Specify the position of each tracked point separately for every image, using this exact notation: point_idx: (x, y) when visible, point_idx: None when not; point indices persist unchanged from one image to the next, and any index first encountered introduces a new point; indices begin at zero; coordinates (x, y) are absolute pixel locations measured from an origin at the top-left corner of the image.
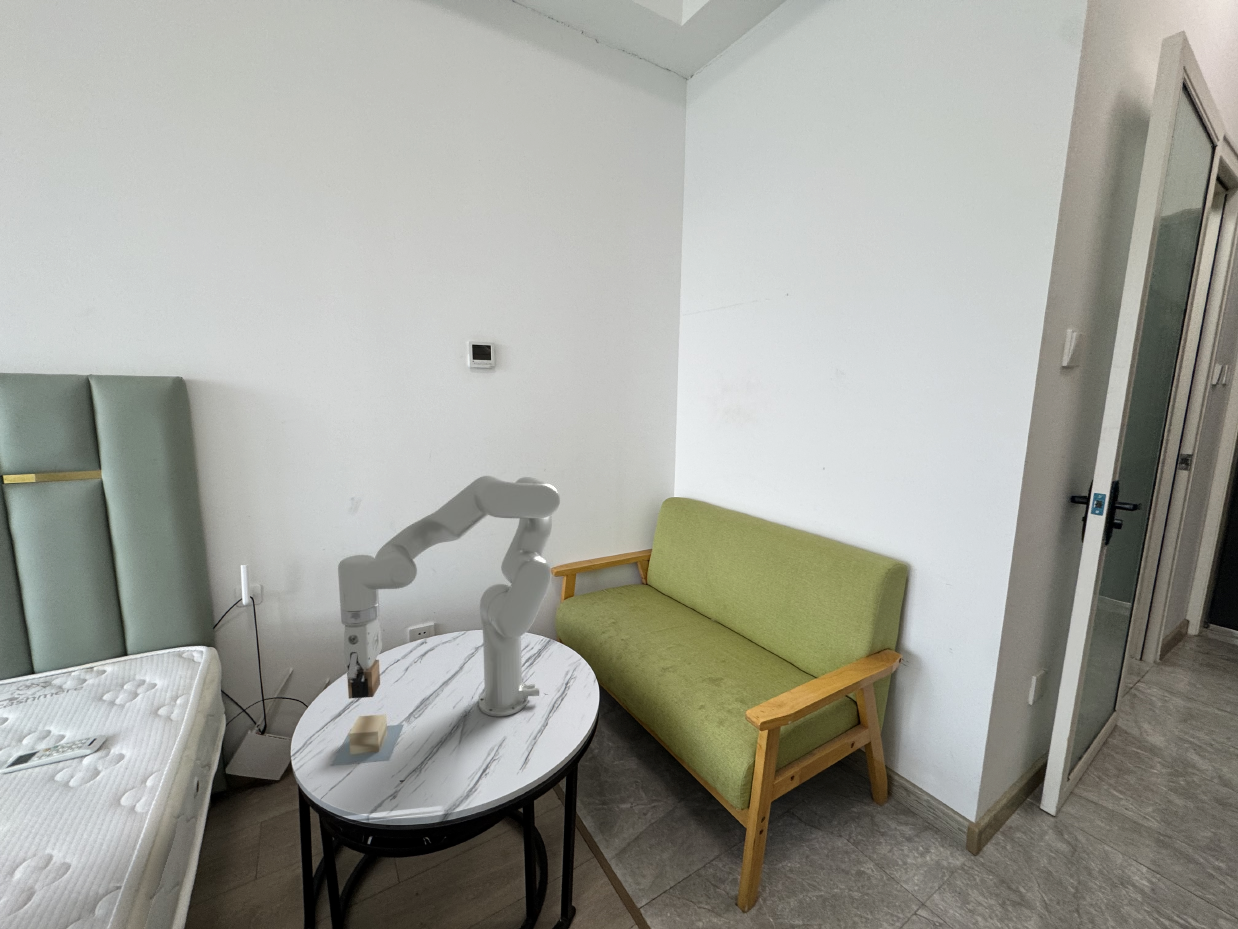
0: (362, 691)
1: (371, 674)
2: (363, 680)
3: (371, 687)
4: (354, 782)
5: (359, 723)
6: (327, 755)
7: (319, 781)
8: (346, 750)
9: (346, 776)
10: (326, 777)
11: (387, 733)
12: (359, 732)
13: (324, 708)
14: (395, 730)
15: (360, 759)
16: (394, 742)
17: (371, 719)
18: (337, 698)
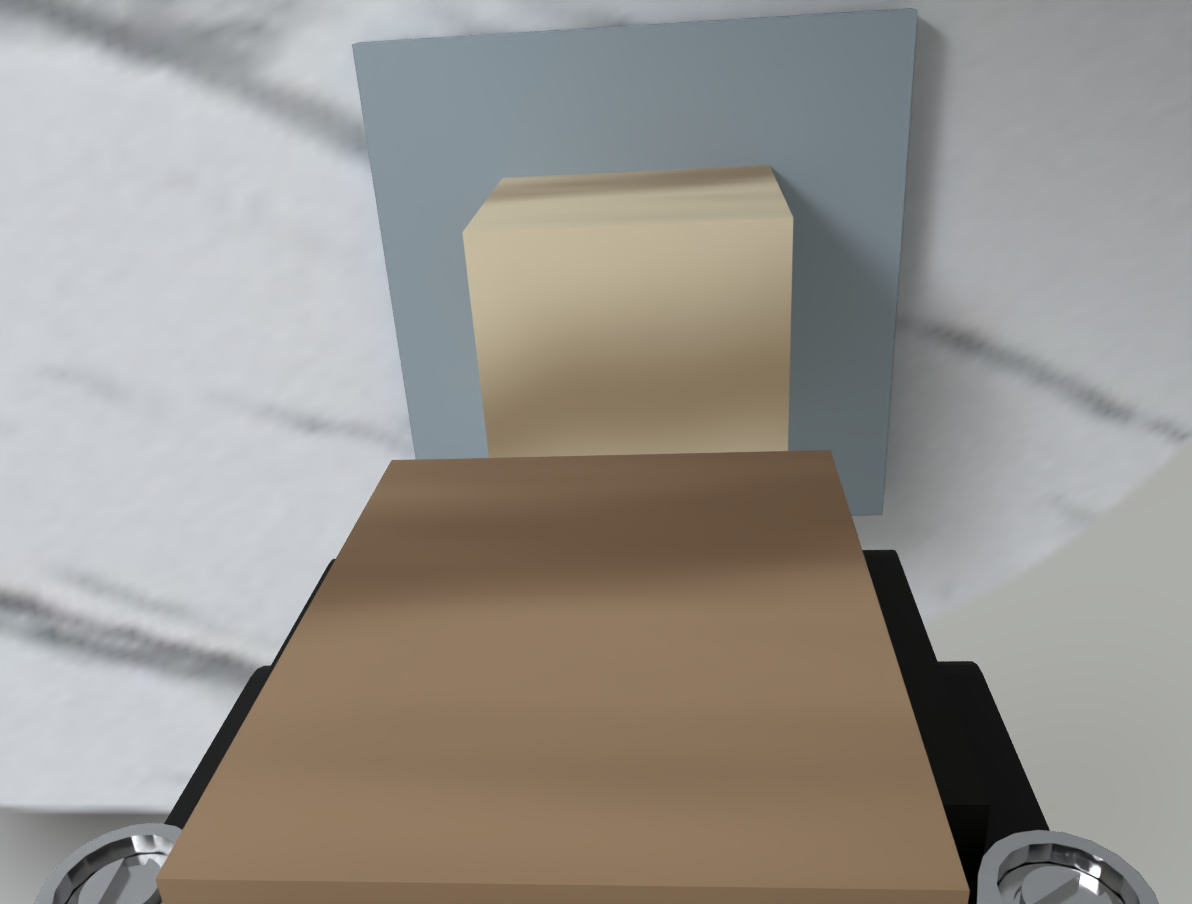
0: (983, 698)
1: (944, 813)
2: (1152, 897)
3: (865, 577)
4: (1092, 255)
5: None
6: None
7: (1001, 525)
8: None
9: (995, 348)
10: (967, 493)
11: (498, 177)
12: (780, 416)
13: (159, 783)
14: (452, 108)
15: (854, 302)
16: (646, 50)
17: (556, 368)
18: (27, 746)
